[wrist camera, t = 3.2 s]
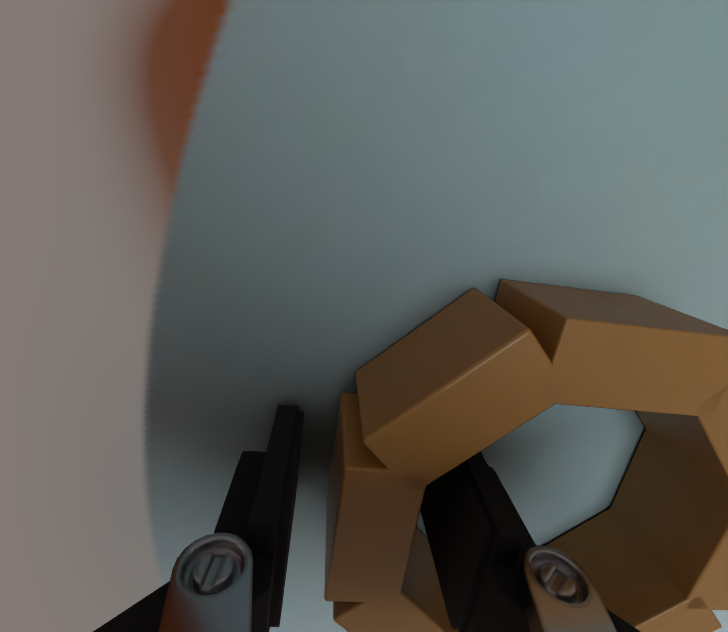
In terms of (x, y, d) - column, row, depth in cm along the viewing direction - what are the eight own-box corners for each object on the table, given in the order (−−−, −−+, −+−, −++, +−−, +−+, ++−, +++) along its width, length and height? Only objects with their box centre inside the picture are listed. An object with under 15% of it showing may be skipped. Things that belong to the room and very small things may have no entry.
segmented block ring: (252, 444, 11) (224, 535, 8) (600, 195, 9) (716, 201, 6) (458, 633, 14) (489, 744, 11) (739, 476, 13) (855, 561, 10)
